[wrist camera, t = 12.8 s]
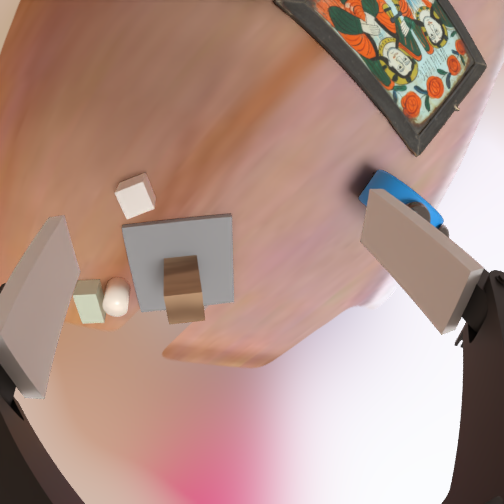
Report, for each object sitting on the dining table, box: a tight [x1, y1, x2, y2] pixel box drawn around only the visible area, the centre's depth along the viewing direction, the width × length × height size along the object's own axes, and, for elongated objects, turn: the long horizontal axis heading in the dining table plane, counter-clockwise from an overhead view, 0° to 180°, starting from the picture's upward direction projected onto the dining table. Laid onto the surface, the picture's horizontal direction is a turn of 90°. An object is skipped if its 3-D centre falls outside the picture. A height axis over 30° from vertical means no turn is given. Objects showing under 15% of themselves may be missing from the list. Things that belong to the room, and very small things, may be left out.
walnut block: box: [164, 255, 205, 324], centre depth 45 cm, size 5×5×9 cm
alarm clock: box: [359, 170, 449, 238], centre depth 44 cm, size 13×6×15 cm, turn 58°
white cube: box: [115, 172, 156, 219], centre depth 40 cm, size 4×4×4 cm
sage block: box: [73, 279, 106, 323], centre depth 47 cm, size 6×4×4 cm, turn 177°
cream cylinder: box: [103, 277, 130, 317], centre depth 47 cm, size 4×4×5 cm
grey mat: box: [122, 214, 234, 312], centre depth 49 cm, size 16×16×1 cm
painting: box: [273, 0, 487, 157], centre depth 36 cm, size 28×35×2 cm
